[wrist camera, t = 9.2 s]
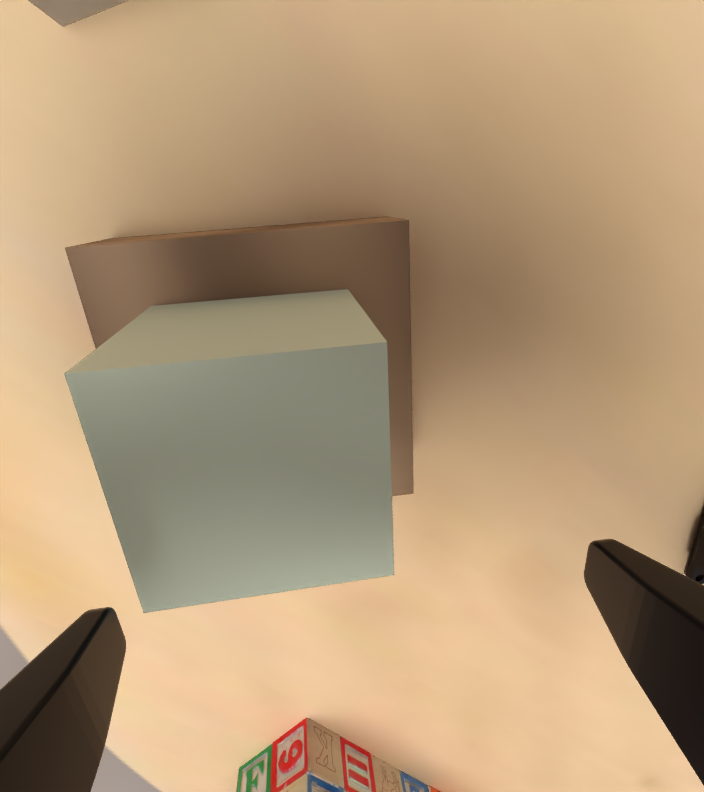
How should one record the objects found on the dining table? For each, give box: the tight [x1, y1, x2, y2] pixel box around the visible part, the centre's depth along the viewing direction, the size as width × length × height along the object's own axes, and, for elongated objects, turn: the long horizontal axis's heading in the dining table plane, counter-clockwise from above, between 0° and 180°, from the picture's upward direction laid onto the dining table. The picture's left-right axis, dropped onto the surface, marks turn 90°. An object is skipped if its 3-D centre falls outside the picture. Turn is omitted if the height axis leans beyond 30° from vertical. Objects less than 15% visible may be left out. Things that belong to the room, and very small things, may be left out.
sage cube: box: [65, 289, 394, 613], centre depth 13 cm, size 6×6×6 cm
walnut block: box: [65, 217, 413, 496], centre depth 17 cm, size 10×10×4 cm
